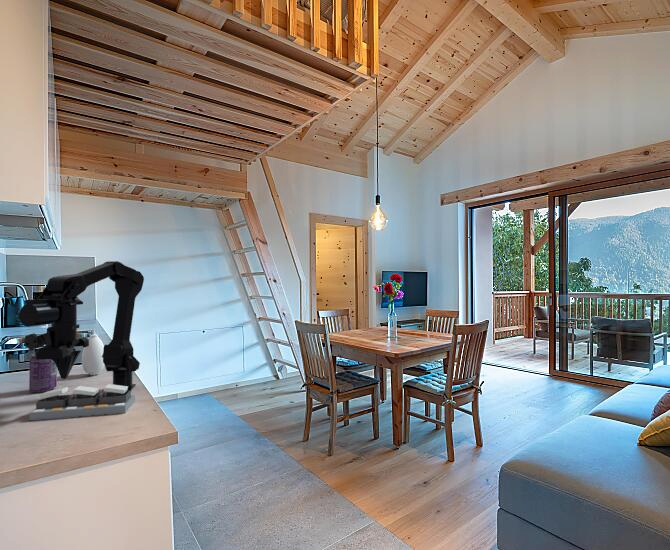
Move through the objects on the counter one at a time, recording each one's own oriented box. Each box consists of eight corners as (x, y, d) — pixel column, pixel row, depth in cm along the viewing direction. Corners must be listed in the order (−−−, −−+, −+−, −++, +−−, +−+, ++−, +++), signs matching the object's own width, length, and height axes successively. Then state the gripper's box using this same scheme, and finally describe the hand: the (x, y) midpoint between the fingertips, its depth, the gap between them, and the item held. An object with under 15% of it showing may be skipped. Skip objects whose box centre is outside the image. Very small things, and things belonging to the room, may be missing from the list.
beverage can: (52, 385, 130) (53, 350, 130) (59, 389, 126) (59, 353, 126) (26, 390, 125) (26, 354, 125) (32, 394, 120) (32, 356, 120)
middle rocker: (78, 389, 107) (78, 385, 107) (98, 391, 108) (99, 388, 109) (72, 393, 104) (73, 389, 104) (93, 395, 105) (94, 392, 105)
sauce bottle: (79, 378, 140) (79, 329, 140) (83, 373, 147) (84, 326, 147) (104, 376, 143) (104, 328, 143) (107, 371, 150) (107, 325, 150)
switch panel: (47, 407, 108) (47, 392, 108) (134, 401, 114) (135, 386, 114) (28, 420, 98) (28, 403, 98) (125, 413, 104) (125, 396, 104)
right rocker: (107, 387, 109) (108, 383, 109) (127, 389, 110) (128, 386, 110) (103, 391, 106) (104, 387, 106) (123, 393, 107) (124, 390, 107)
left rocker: (47, 395, 105) (46, 391, 105) (68, 390, 107) (67, 386, 107) (40, 399, 102) (39, 395, 102) (62, 393, 103) (61, 390, 103)
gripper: (46, 319, 112) (46, 372, 112) (10, 327, 94) (10, 390, 94) (89, 318, 115) (89, 369, 115) (61, 326, 97) (61, 387, 97)
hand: (64, 378), depth 105 cm, fingers closed
